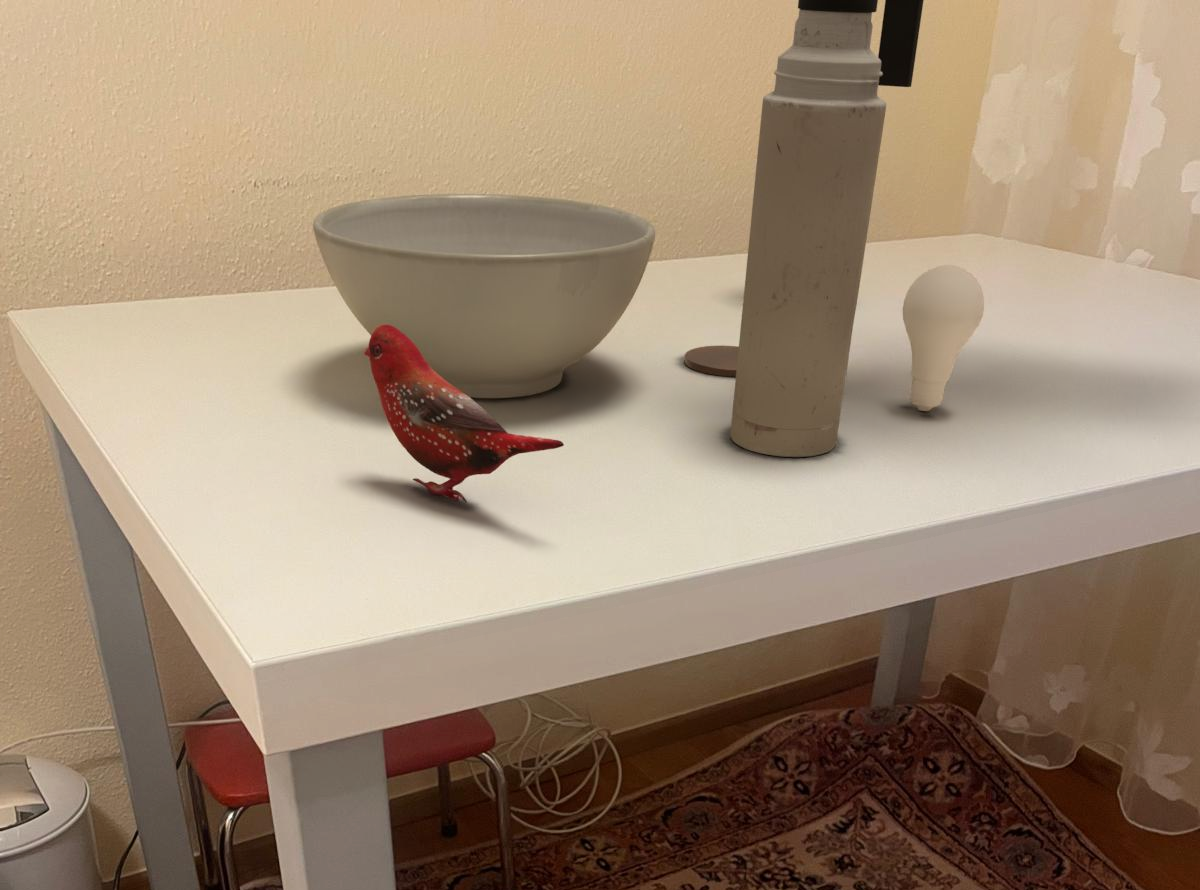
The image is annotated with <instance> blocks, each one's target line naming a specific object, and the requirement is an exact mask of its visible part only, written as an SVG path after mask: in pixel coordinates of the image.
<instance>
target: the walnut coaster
mask: <svg viewBox="0 0 1200 890" xmlns="http://www.w3.org/2000/svg"><path fill="white" fill-rule="evenodd" d="M738 350H739V345H738V346H737V345H705V346H700V347H699V346H698V347H695V348H691V349H689V350H687V351H686V352H685V354H684V364H685V366H687V367H688V368H690V369H692V370H694V371H695V372H696V371H697V372H700V373H703V374H707V375H713V376H719V377H730V378H731V377H733V378H734V377H735V378H736V371H737V360H738Z"/></svg>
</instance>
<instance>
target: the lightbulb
mask: <svg viewBox="0 0 1200 890" xmlns="http://www.w3.org/2000/svg"><path fill="white" fill-rule="evenodd" d="M984 311H985V297H984V290H983V289H982V286H981V284H980V282H979V280H978V279H977V278H976V277H975V276H974V275H973V274H972V273H971V272H969V271H968V270H967V269H965V268H963V267H960V266H957V265H952V264H948V265H947V264H945V265H938V266H935V267H933V268H930V269H928V270H927V271H924V272H923V273H921V274H920V275H919V276H918V277H917V278H916V279H914V281H913V282H912V284H911V285H910V286H909V288H908V290H907V291H906V294H905V297H904V300H903V305H902V320H903V324H904V327H905V331H906V334H907V337H908V340H909V344H910V350H911V366H910V367H911V369H910V375H911V377H912V381H911V388H910V394H909V395H910V396H909V397H910V398H909V400H910V402H911V404H912V405H914V406H916V408H917V410H918V411H920V412H921V411H922V412H929V411H931V410H932V409H933V408H936V407H938V406H940V405H941V404H942V401H943V397H944V394H945V390H946V385H947V381H949V380H950V378H951V376H952V372H953V369H954V365H955V363H956V361H957V358H958V356H959V355H960V353H961V351H962V349H963V347H964V346H965V345H966V344H967V342H968V341H969V340H970V339H971V337H972V336H973V334H974V333H975V331H976V330H977V329H978V327H979V325H980V323H981V321H982V318H983V316H984Z"/></svg>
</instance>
